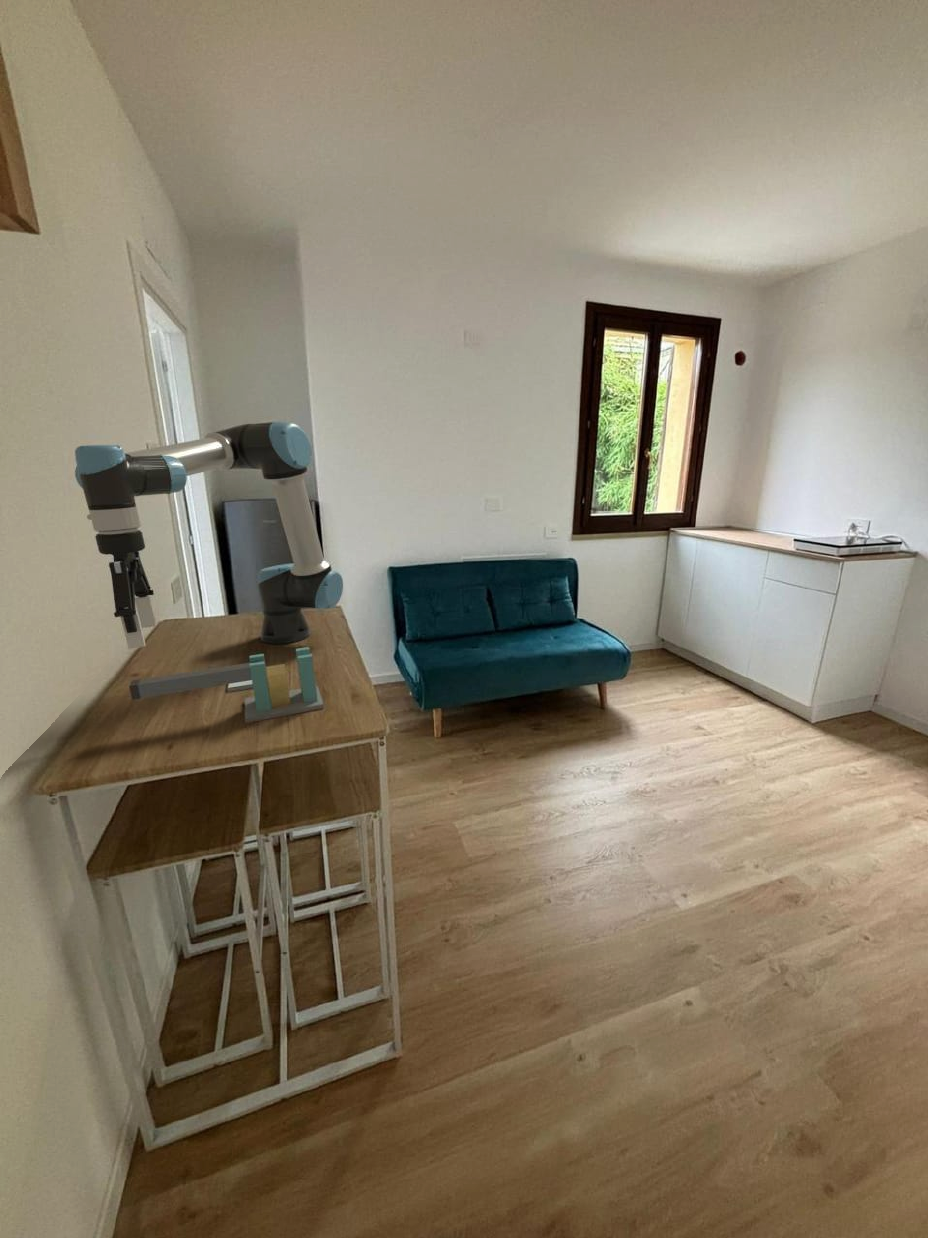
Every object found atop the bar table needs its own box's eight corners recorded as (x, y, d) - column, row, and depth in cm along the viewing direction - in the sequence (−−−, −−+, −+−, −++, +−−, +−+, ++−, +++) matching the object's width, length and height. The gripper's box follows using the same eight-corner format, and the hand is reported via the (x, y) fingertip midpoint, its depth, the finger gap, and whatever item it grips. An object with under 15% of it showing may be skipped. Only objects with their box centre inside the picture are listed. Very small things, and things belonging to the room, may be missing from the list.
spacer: (271, 697, 120) (266, 666, 117) (288, 694, 121) (284, 663, 119) (271, 708, 114) (266, 676, 112) (290, 705, 116) (286, 673, 113)
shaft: (135, 694, 107) (131, 680, 106) (264, 673, 116) (262, 660, 115) (132, 700, 104) (128, 686, 103) (265, 678, 113) (263, 665, 112)
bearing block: (245, 702, 120) (237, 654, 116) (317, 689, 126) (312, 643, 122) (245, 723, 110) (236, 671, 107) (323, 708, 116) (318, 658, 112)
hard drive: (262, 682, 128) (262, 665, 139) (227, 688, 125) (229, 669, 136) (263, 688, 129) (263, 670, 140) (228, 694, 126) (230, 675, 137)
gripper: (110, 525, 107) (134, 621, 113) (75, 542, 84) (106, 660, 91) (151, 522, 109) (172, 616, 116) (127, 538, 87) (154, 653, 94)
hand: (143, 636), depth 103 cm, fingers open, 13 cm apart
